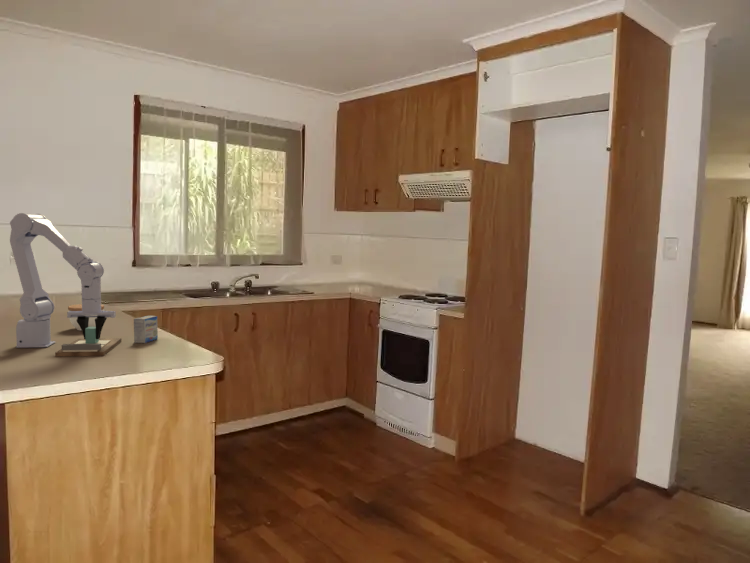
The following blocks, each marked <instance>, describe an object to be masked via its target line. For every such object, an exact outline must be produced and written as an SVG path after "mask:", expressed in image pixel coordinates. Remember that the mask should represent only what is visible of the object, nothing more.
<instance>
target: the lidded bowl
mask: <svg viewBox="0 0 750 563" xmlns="http://www.w3.org/2000/svg"><path fill="white" fill-rule="evenodd" d="M67 310H68V312H69V311H82V303H79V304H78V303H77V304H70V305H69V306H67ZM101 311H105V305H104V304H102V303H101ZM85 316H97V315H85ZM77 318H78V317H71V318H68V319H69V322H70V323H71V326H72V327H74V328H75V329H76V331H82V330H81V328H80V326H79V324H78V323H77ZM96 318H97V317H89V322H88V327H96V325H95V319H96Z"/></svg>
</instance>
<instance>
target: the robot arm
mask: <svg viewBox="0 0 750 563" xmlns="http://www.w3.org/2000/svg"><path fill="white" fill-rule="evenodd" d="M9 224H10V236H9V243H10V247H11V251H12V254H13V258H14V262H15V265H16V269H17V273H18V277H19V280H20V281H19V282H20V283H21V288H22V291H23V294H22V295H21V296H20V298H19V302H20V303H19V304H20V306H19V313H20V315H21V317H22V318H23V319H19V320H18V321H17V323H16V328H15V331H16V332H15V333H16V336H15V337H16V346H15V348H19V349H20V348H48V347H50V346H51V345H54V344H55V343H56V341H54V340H52V336H51V333H52V332H51V317H52V316H51V315H52V314H53V312H54V311H55V303H54V302H53V300H52V299H51V298H50V296H49V295H50V294H49V293H48V292H47V291H46V290H44V289H43V287H42V283H41V278H40V275H39V271H38V268H37V264H36V260H35V257H34V253H33V248H32V245H31V243H32V242H33V241H34V239H35V238H37V236H42V237H44V238H45V239H47V240H48V241H49V243H52V244H53V245H54V246H55V247H56V248H57V249H58V250H60V251H61V252H62V258H63V259H64V260H65V262H67V263H69V265H70V266H72V268H73V269H75V270H76V273H77V274H76V275H77V277H78V278H79V279H80V283H81V304H82V311H69V310H68V311H67V312H66V313H67V314H66V318H67V319H69V318H71V317H78V318H77V323H78V324H79V326H80V328H81V330H80V331H81V332H82V336H83V339H85V329H86V328H87V327H88V322H89V317H97V318H96V319H95V325H96V339H101V334H102V330H103V328H104V325H105V323H106V320H107V318H112V319H113V318H116V316H117V314H116V311H115V310H104V311H101V304H102V289H101V288H102V284H101V283H102V282H101V280H102V279H101V278H102V277H103V276H104V273H105V270H104V269H105V268H104V267H103V265H102V264H101V262H99V261H94V258H92V257H89V256H88V255H87V254H86V253H85V252H84V251H83V250H84V248H83V247H82V246H78V245H72V244H71V243H69V241H68V240H67V239H66V238H65V237H64V236H63V234H61V233H60V232H59V231H58V230H57V228H55V226H53V225H54V224H52V221H50V220H49V219H48V218H47V217H46V216H45V215H44V214H41V213H23V212H20V213H17V214H15V215H14V216H13V218H12V219H11V220H10V222H9ZM85 315H97V316H85Z"/></svg>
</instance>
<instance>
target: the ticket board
mask: <svg viewBox="0 0 750 563" xmlns="http://www.w3.org/2000/svg"><path fill="white" fill-rule="evenodd" d="M99 340H111V342H109V343H108V344H107V345H105V346H104V347H103V348H101V349H100V350H99V351H95V352H63V350H62V348H60V349H59V350H58V351H55V353H54V355H55V357H104V356H105V355H107V354H108V353H109V352H110V351H112V350H113V349H114V348H115V347H116V346H118V345H119V344H120V343H122V337H121V338H118V337H116V338H115V337H114V338H112V337H111V338H99ZM78 341H86V340H85V339H84V338H77V339H75V341H72V342H71V343H70V344H75V343H76V342H78Z"/></svg>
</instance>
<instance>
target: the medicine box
mask: <svg viewBox="0 0 750 563" xmlns="http://www.w3.org/2000/svg"><path fill="white" fill-rule="evenodd" d="M158 338H159V337H158V316H156V315H145V316H141V317H136V318H133V342H134V343H136V344H147V342H148V343H150V341H151V342H153V340H154V341H156V340H158Z"/></svg>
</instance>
